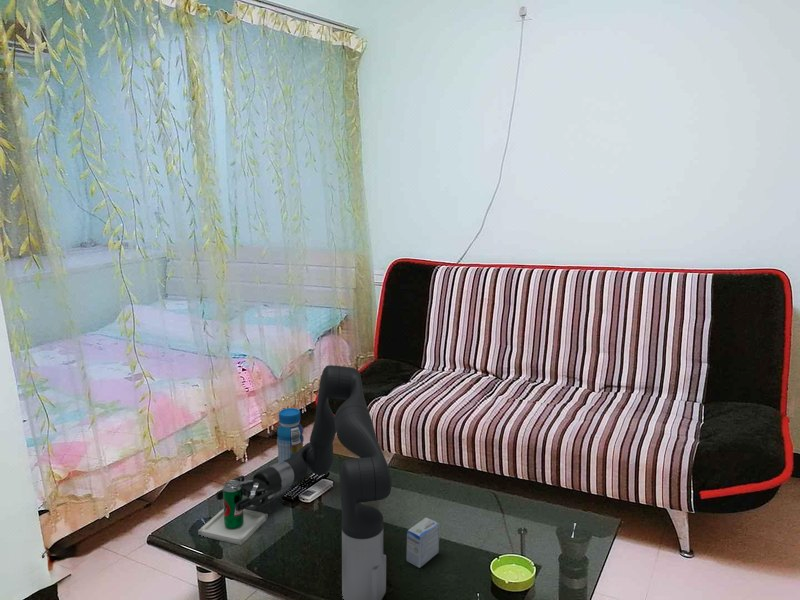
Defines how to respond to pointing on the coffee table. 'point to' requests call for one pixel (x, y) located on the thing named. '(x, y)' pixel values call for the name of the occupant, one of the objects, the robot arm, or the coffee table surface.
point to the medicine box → (422, 542)
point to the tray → (237, 535)
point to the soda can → (232, 504)
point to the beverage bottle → (289, 434)
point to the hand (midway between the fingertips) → (226, 502)
